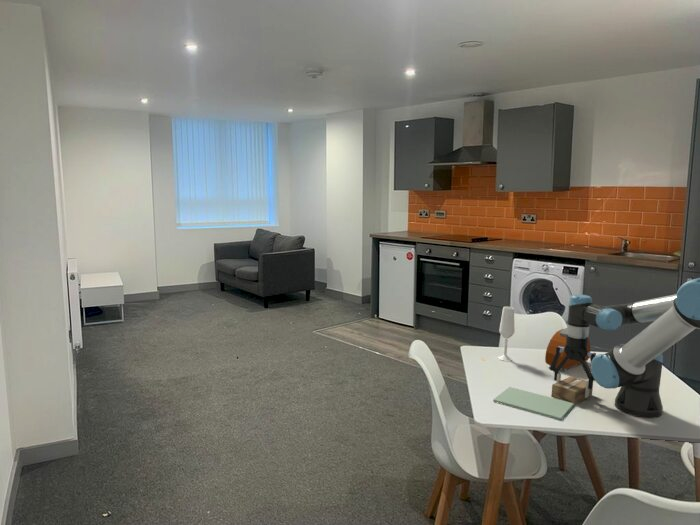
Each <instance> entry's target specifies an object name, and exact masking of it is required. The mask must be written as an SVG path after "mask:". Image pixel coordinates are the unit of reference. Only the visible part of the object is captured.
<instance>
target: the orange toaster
mask: <svg viewBox="0 0 700 525" xmlns="http://www.w3.org/2000/svg"><path fill="white" fill-rule="evenodd" d="M567 335H568V334H567V327H565V328H561V329H559V330H557V331H556V332H555V333H554V334H553V335H552V336H551V338H550V340H549V342H548V344H547V347H546V351H545V356H544V358H545V359H544V360H545V363H546V365H548V366H549V367H551V364H552V362H553V359H554V357H555V355H556V348H557V347H558V346H561V347H565V346H566V336H567ZM587 338H588V346H587V350H588V352H590V353H591V344H590V342H591V341H590V339H589V336H588V337H587ZM566 356H567V355H566V353H565V351H564V350H563V352H562V353H561V354H560V357H559V359H558V361H557V364H556V366H555V368H557V367H558V366H559V365H560V363H561V362H562V361H563V360H564V358H565V357H566ZM585 359H586V362H588V361H589V359H590V358H589V356H588V355H587V356H586V357H585ZM580 364H581V363H580V361H576V360H570V359H569V360H568V361H567V362H566V363H565V364H564V366H563V367H562V368H561V369H560V370H562V371H565V372H566V371H568V369H569V368H572V367H574V366H577V365H580Z"/></svg>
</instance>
